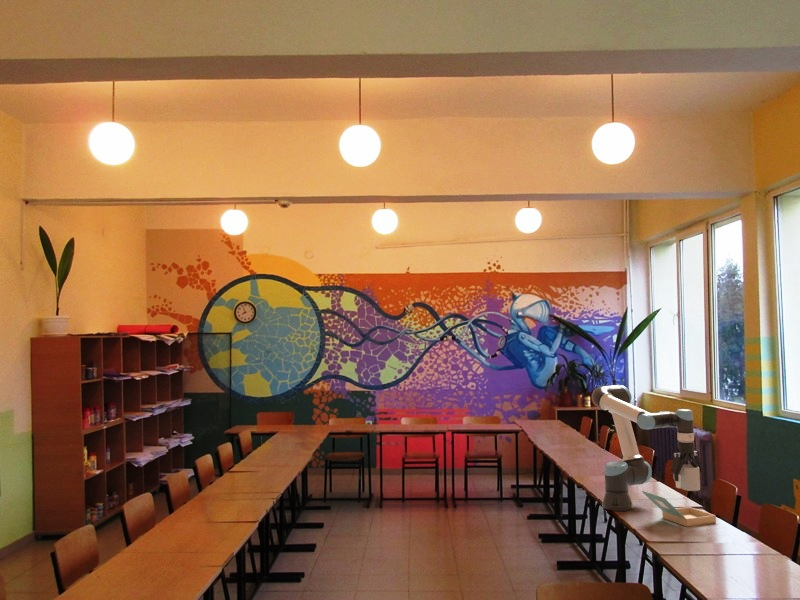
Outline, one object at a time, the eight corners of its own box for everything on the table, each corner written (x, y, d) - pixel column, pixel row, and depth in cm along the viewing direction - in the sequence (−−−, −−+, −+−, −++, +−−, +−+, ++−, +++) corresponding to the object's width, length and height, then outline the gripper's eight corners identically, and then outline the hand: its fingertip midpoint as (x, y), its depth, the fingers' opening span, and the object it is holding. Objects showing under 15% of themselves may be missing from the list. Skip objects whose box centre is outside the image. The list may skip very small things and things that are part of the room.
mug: (697, 487, 336) (697, 464, 337) (702, 491, 328) (701, 468, 328) (672, 486, 339) (671, 464, 339) (675, 490, 330) (674, 467, 331)
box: (687, 526, 322) (687, 519, 322) (662, 517, 338) (662, 510, 338) (715, 522, 328) (715, 515, 328) (690, 514, 344) (689, 507, 344)
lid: (685, 518, 323) (684, 519, 323) (662, 510, 337) (662, 511, 337) (664, 497, 319) (663, 499, 319) (642, 490, 334) (641, 491, 334)
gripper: (672, 444, 327) (674, 490, 326) (710, 440, 335) (712, 486, 334) (661, 441, 334) (663, 487, 333) (698, 438, 342) (700, 483, 341)
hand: (687, 486), depth 333 cm, fingers closed on mug, 10 cm apart
